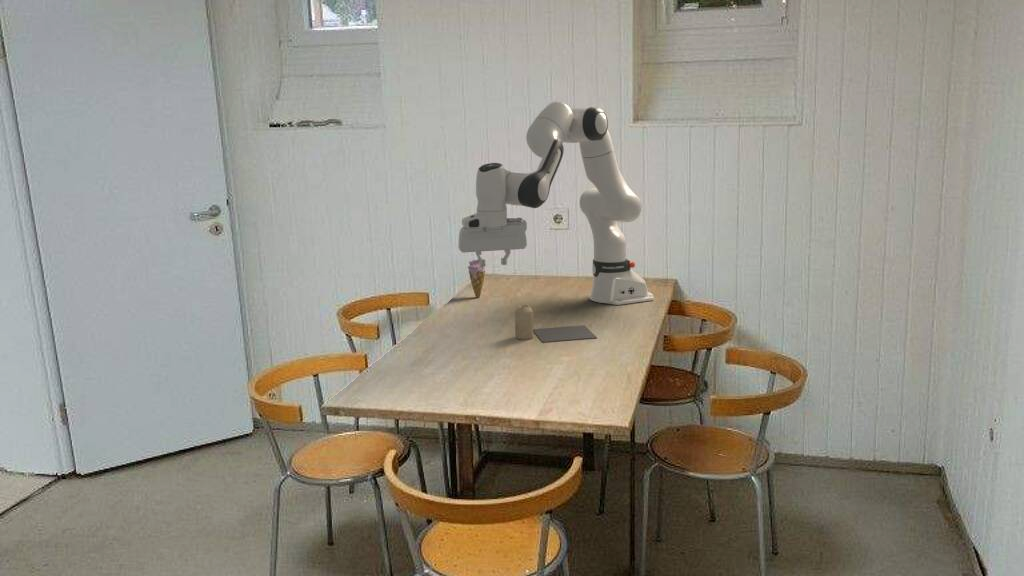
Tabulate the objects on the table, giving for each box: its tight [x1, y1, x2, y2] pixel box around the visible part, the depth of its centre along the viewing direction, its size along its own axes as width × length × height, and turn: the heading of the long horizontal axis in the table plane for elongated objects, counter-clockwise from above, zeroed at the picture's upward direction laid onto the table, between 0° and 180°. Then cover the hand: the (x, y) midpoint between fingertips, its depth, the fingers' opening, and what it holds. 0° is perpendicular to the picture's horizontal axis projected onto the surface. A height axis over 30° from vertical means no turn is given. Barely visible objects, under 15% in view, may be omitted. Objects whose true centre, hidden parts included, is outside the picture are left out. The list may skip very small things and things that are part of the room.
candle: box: [514, 304, 534, 340], centre depth 277 cm, size 6×6×10 cm
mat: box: [533, 324, 598, 344], centre depth 280 cm, size 17×14×1 cm
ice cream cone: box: [467, 257, 486, 299], centre depth 326 cm, size 7×6×15 cm
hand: (493, 265), depth 271 cm, fingers open, 5 cm apart
